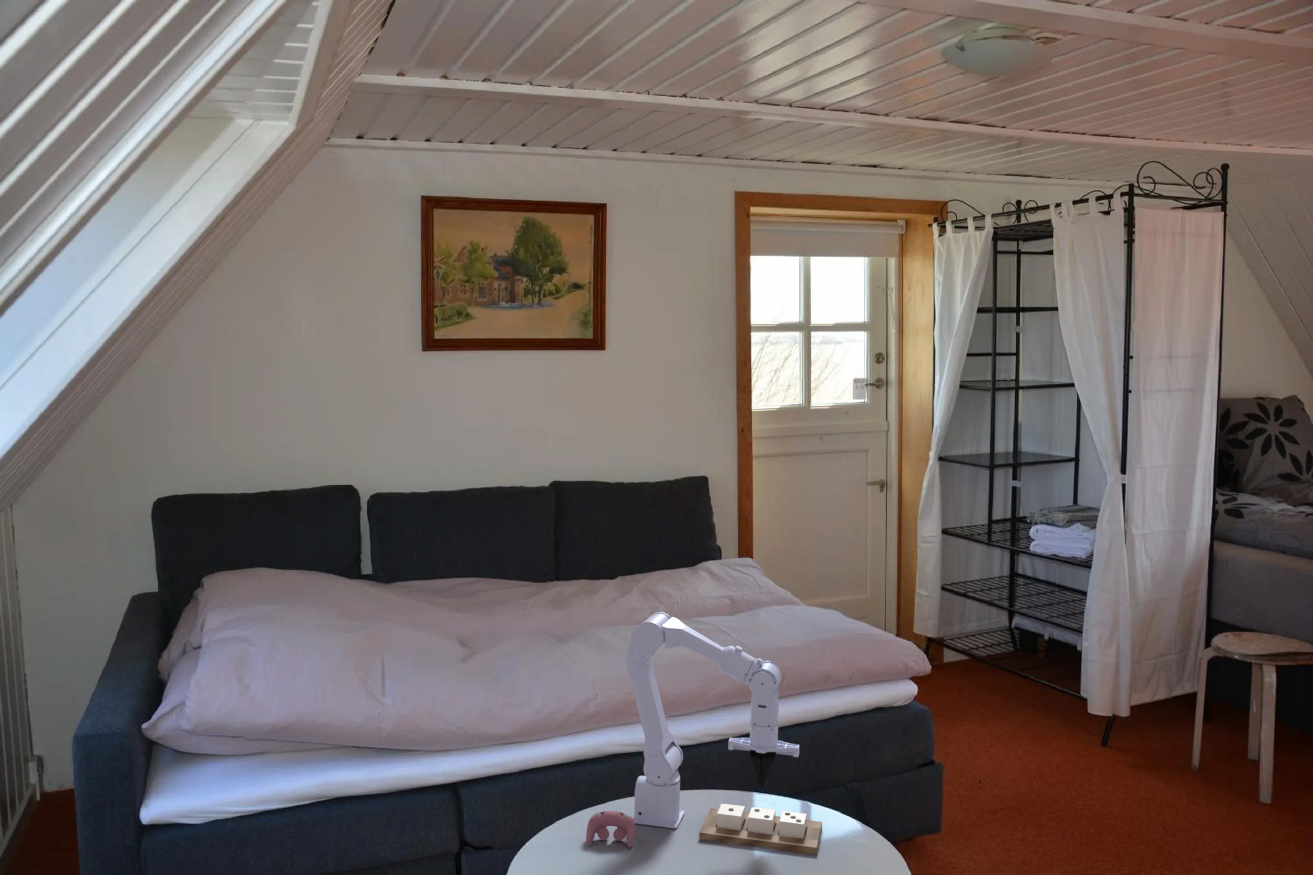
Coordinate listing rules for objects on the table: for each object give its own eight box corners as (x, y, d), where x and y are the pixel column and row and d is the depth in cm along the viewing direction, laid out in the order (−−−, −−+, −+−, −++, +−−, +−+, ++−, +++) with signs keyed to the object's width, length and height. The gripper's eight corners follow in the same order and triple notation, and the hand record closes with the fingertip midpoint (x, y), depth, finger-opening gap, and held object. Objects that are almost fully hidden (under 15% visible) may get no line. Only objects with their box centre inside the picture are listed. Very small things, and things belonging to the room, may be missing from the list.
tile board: (699, 839, 218) (699, 832, 218) (710, 814, 230) (710, 807, 230) (816, 854, 213) (816, 847, 212) (822, 828, 224) (822, 821, 224)
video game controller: (635, 848, 217) (637, 812, 220) (632, 848, 213) (634, 811, 216) (587, 845, 218) (589, 809, 221) (584, 845, 214) (586, 808, 217)
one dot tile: (716, 827, 221) (717, 812, 221) (721, 816, 226) (721, 802, 225) (740, 830, 220) (740, 815, 219) (744, 819, 224) (744, 805, 224)
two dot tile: (747, 831, 219) (748, 816, 219) (751, 820, 224) (751, 806, 224) (771, 834, 218) (772, 819, 218) (775, 823, 223) (775, 809, 223)
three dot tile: (779, 835, 218) (779, 820, 217) (782, 824, 223) (782, 810, 222) (803, 838, 216) (803, 823, 216) (806, 827, 221) (806, 813, 221)
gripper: (726, 725, 217) (724, 789, 218) (797, 732, 213) (795, 797, 215) (732, 713, 224) (730, 775, 225) (801, 720, 220) (799, 783, 221)
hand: (762, 785), depth 220 cm, fingers closed
